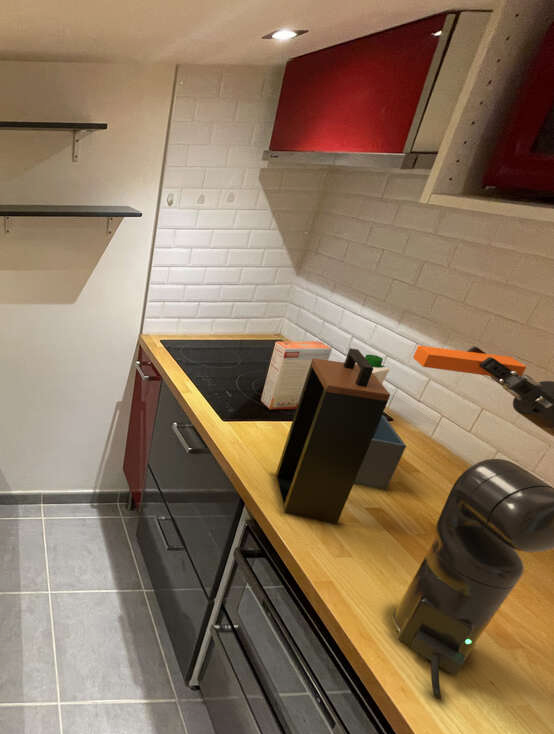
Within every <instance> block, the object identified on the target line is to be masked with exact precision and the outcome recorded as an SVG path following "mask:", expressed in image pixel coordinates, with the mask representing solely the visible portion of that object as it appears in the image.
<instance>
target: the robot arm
mask: <svg viewBox="0 0 554 734" xmlns="http://www.w3.org/2000/svg"><path fill="white" fill-rule="evenodd" d="M466 351H467V352H475V353H483V354H487V353H486V352H485V351H483V350H482V349H481V348H479V347H478V346H472V347H470V348H469V349H468V350H466ZM479 366H480V367H481V368H483V369H484V370H486V371H487V372H489V373H490V374H492V375H493V376H488V377H489V378H490V379H492V380H493V381H495V382H496V383H497V384H498V385H500V386H502V387H501V388H502V389H503V390H504V391H506V392H507V393H509V394H510V395H512V397H513V400H512V408H513V409H514V411H515V412H516V413H518V414H519V415H521V416H522V417H523V418H525V419H527V420H528V421H529V422H531V423H532V424H534V425H535V426H537V427H538V428H540V430H542V431H544V432H545V433H547V434H548V435H550V436H551V437H554V381H553V380H544V381H537V380H536V379H534V378H532V377H531V376H530V375H528V374H526V373H525V372H523V374H522V375H521V376H520V375H518V374H517V372H516V371H512V370H511V371H510V369H508V368H507V367H505V366H504V365H503V364H501V363H500V362H498V361H497V360H495V359H494V358H492V357H488V358H487V359H485V360H484V361H483V362H481V363H480V364H479ZM509 371H510V372H509ZM515 376H516V377H515ZM435 534H436V535H435V538H434V540H433V542H432V544H431V546H430V547H429V549H428V551H427V553H426V555H425V556H424V558H423V560H422V562H421V564H420V565H419V567H418V569H417V571H416V572H415V574H414V576H413V578H412V580H411V581H410V583H409V585H408V587H407V589H406V591H405V592H404V594H403V596H402V598H401V600H400V602H399V604H398V606H397V607H396V608H395V610H394V611H393V613H392V617H391V619H392V620H391V621H392V624H393V626H394V628H395V630H396V632H397V633H398V636H397V639H398V640H399V641H401V642H402V643H404V644H406V645H407V646H408V647H410V649H411V650H413V651H415V652H416V653H417V654H419V655H421V656H422V657H424V658H426V659H427V660H429V661H431V663H430V679H431V687H432V695H433V697H434V698H437V699H441V698H442V693H441V685H440V668H441V669H443V670H444V671H446V672H448V673H450V674H451V675H453V676H455V677H456V676H457V675H458V673H459V672H460V670H461V669H462V667H463V666H464V662H465V661H466V659H467V658H468V656H469V653H470V652H471V651H472V649H473V648H474V646H475V645H476V643H477V642H478V640H479V638H480V637H481V635H482V634H483V633H484V632H485V630H486V628H487V627H488V626H489V624H490V622H491V621H492V620H493V618H494V617H495V615H496V614H497V613H498V611H499V610H500V608H501V607H502V605H503V604H504V602H505V601H506V600H507V598H508V597H509V596H510V594H511V592H512V591H513V590H514V588H515V587H516V585H517V584H518V583H519V581H520V579H521V578H522V576H523V575H524V572H525V566H524V561H523V560H522V557H521V556H520V555H519V552H523V553H541V552H547V551H551V550H554V486H551V485H550V484H549V483H547V482H546V481H544V480H543V479H540V478H539V477H537V476H536V475H534V474H533V473H531V472H530V471H528V470H527V469H525V468H523V467H521V466H520V465H518V464H516V463H514V462H512V461H510V460H506V459H503V458H502V459H501V458H488V459H483V460H481V461H478V462H476V463H474V464H472V465H471V466H469V467H468V468H466V470H465V471H463V472H462V473H461V474H460V475H459V477H458V478H457V479H456V480H455V482H454V484H453V486H452V487H451V489H450V492H449V493H448V496H447V497H446V500H445V502H444V505H443V507H442V510H441V512H440V515H439V517H438V518H437V521H436V524H435ZM517 551H518V552H517Z"/></svg>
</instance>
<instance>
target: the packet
mask: <svg viewBox="0 0 554 734" xmlns="http://www.w3.org/2000/svg"><path fill="white" fill-rule="evenodd" d="M467 351H468V350H459V349H451V348H443V347H442V348H441V347H434V346H425V345H417V347H416V350H415V352H414V354H413V356H412V359H414V360H415V361H416V362H417V363H418V364H419V365H420V366H421V367H422V368H429V369H436V370H443V371H450V372H458V373H466V374H473V375H481V376H487V377H489V376H493V375H492V374H490V373H489V372H487V371H486V370H484V369H483V368H481V367H480V366H479V364H480V363H481V362H483V361H484V360H485V359H487V358H488V357H492V358H494V359H495V360H497V361H498V362H500V363H501V364H503V365H504V366H505V367H507V368H508V369H510V371H511V370H512V371H516V372H517V374H518V375H520V376H521V375H522V374H523V373H525V370H526V369H527V366H526V365H524V364H523V363H521V362H520V361H518V360H517V359H515V358H514V357H512V356H508V355H507V356H506V355H499V354H491V353H486V354H483V353H475V352H467ZM510 371H509V372H510ZM515 377H516V376H515Z"/></svg>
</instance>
